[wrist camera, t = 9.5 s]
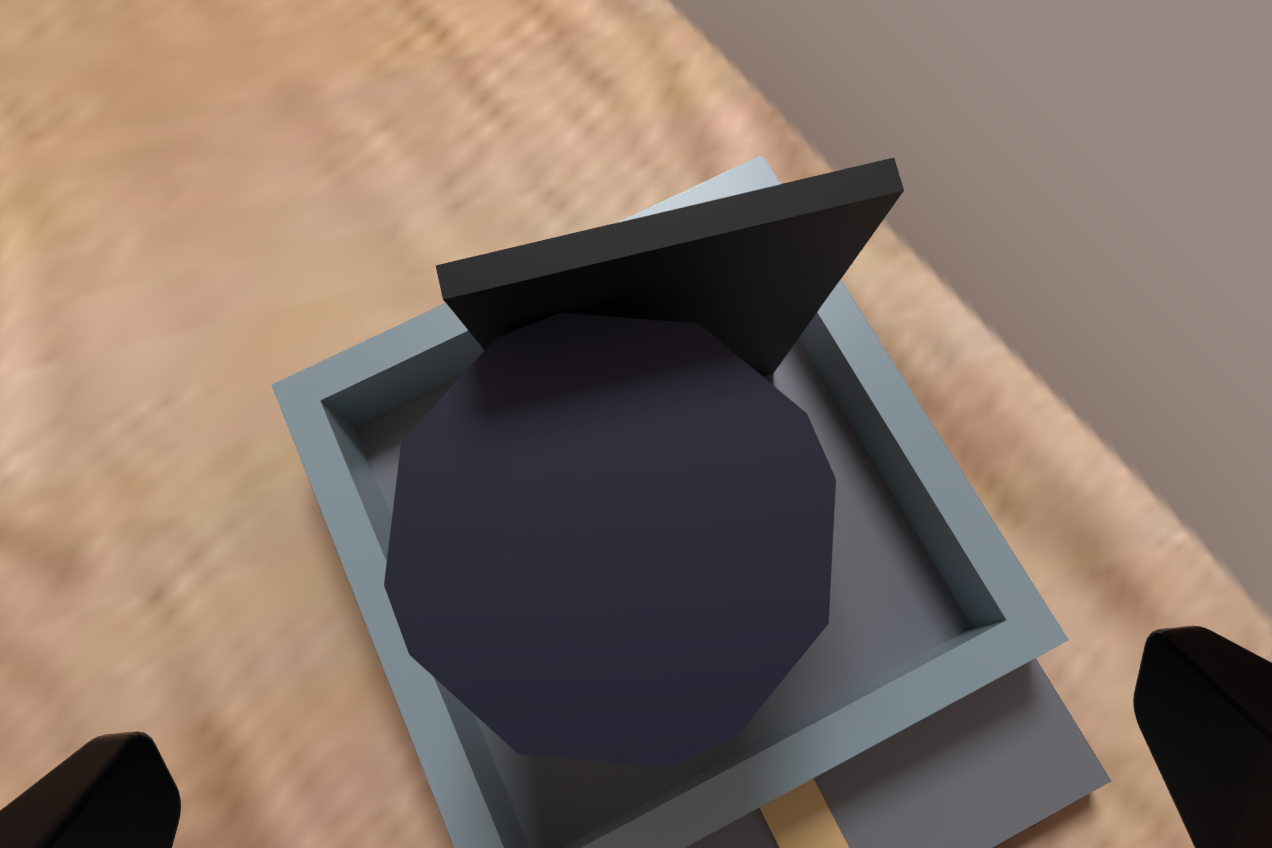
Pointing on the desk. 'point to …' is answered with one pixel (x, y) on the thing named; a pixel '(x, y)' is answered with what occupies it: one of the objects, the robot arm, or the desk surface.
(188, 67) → the desk surface
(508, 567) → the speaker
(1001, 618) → the tray
